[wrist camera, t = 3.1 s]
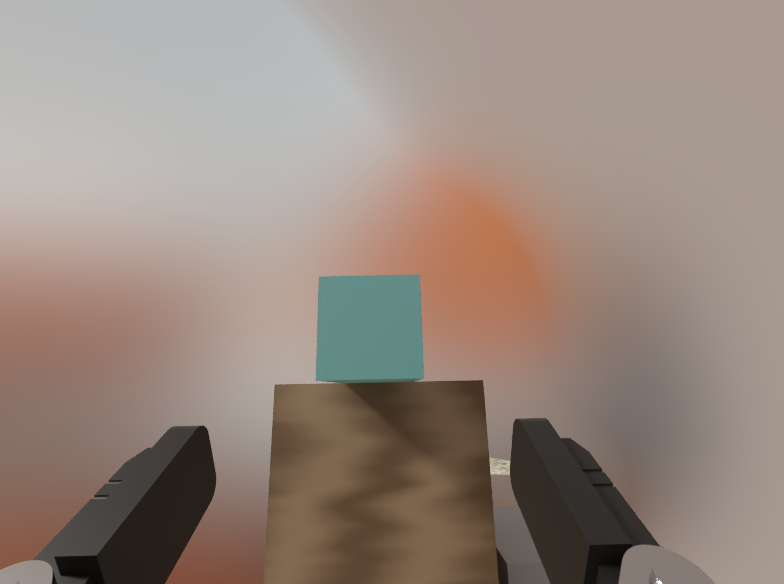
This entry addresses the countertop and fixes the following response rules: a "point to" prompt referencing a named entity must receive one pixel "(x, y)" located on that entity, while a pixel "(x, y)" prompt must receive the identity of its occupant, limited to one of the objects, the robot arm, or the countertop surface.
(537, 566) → the grey block
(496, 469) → the countertop surface
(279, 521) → the walnut stand
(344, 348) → the teal bar
